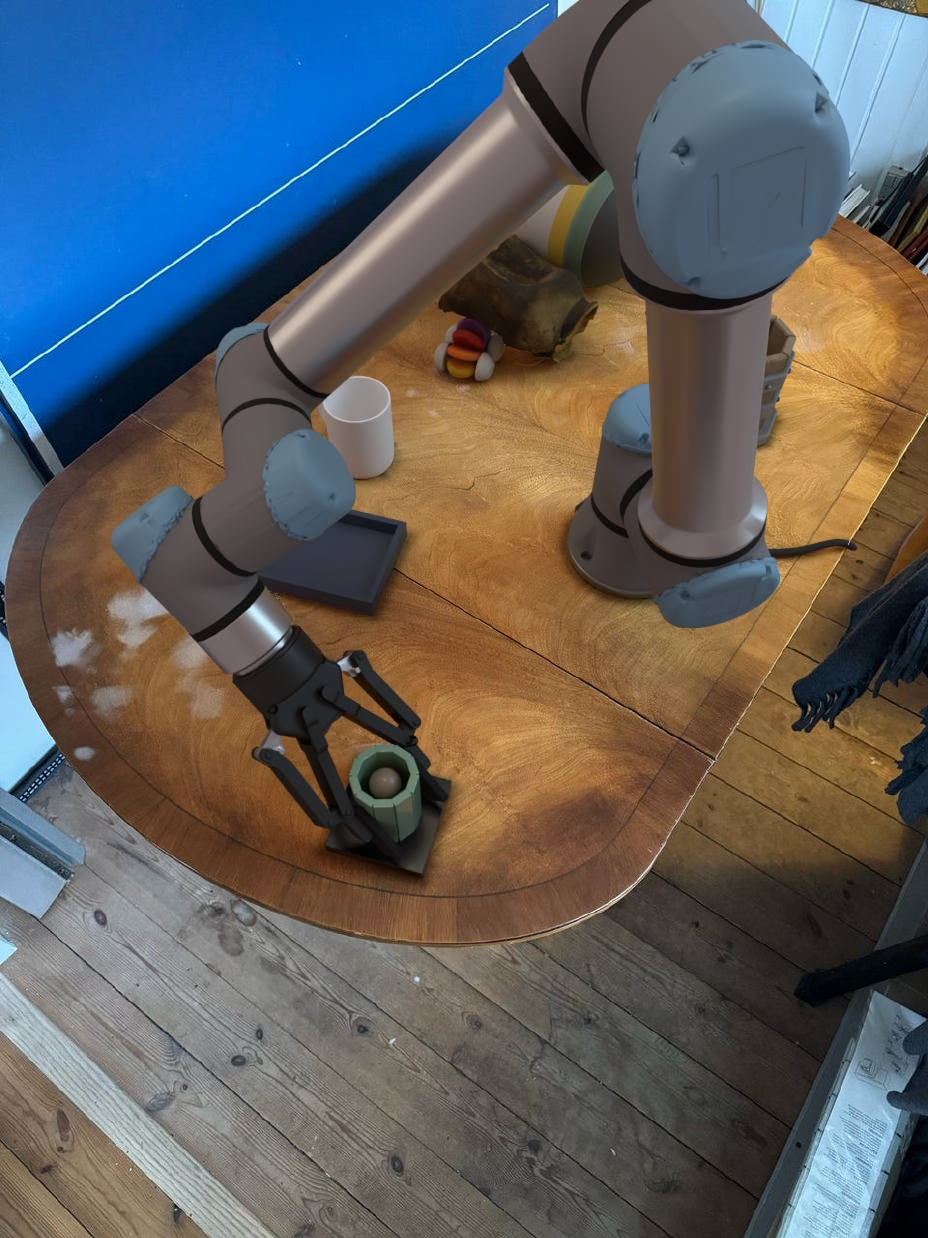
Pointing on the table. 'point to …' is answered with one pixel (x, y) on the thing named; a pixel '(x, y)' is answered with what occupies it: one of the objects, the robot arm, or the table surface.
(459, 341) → the rainbow disc toy
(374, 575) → the tray
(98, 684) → the table surface
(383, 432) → the cup
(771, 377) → the tankard
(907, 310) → the table surface
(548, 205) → the planter
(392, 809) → the sleeve
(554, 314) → the tree stump
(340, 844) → the peg stand
